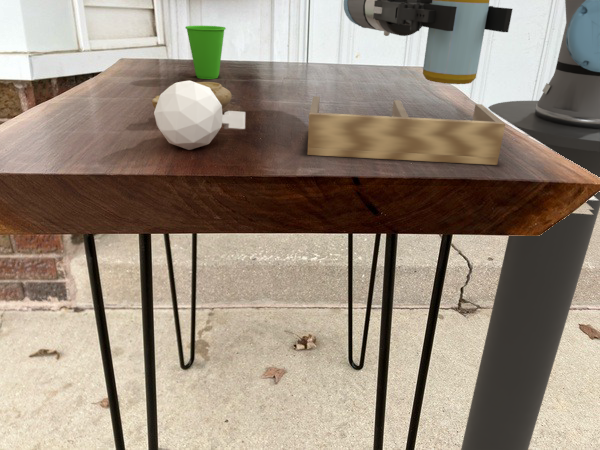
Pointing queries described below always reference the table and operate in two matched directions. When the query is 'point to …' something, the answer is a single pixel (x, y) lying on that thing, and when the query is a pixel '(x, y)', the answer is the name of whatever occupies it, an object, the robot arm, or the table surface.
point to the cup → (206, 49)
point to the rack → (406, 136)
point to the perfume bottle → (193, 115)
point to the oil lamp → (217, 89)
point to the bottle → (456, 44)
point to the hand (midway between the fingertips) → (480, 19)
